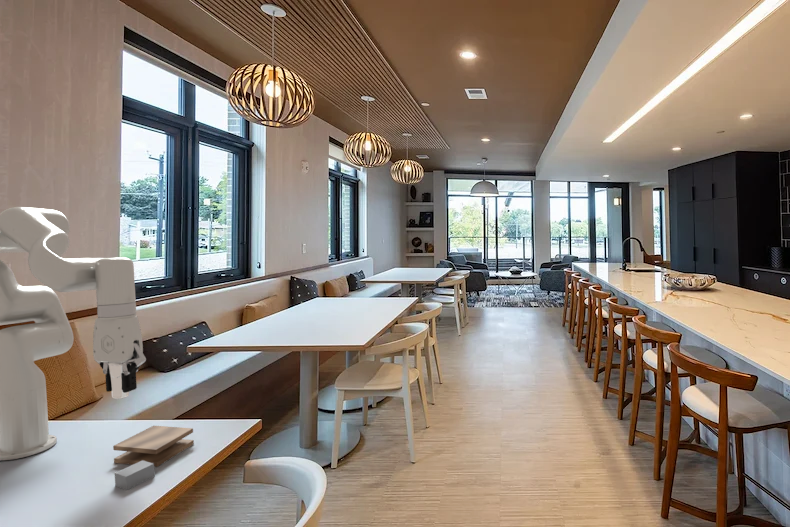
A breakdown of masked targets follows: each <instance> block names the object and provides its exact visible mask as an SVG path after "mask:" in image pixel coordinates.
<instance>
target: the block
mask: <svg viewBox="0 0 790 527" xmlns="http://www.w3.org/2000/svg"><path fill="white" fill-rule="evenodd" d="M154 477H155V467H154V464H153V463H150V462H147V461H143V460H142V461H140V462H138V463H135V464H133V465H131V464H130V465H129V466H127V467H125V468H123V469H121V470H118V471H115V472H114V486H115V487H117V488H120V489H123V490H125V491H129V490H130V489H132V488H134V487H136V486H139V485H140V484H142V483H144V482H146V481H149V480H151V479H152V478H154Z"/></svg>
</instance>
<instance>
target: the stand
mask: <svg viewBox="0 0 790 527" xmlns="http://www.w3.org/2000/svg"><path fill="white" fill-rule="evenodd" d="M193 433H194V428H193V427H192V428H191V427H180V426H179V427H177V426H165V425H163V426H162V425H151V426H150V427H148V428H145V429H144V430H142V431H140V432H138V433H136V434H134V435H132V436H130V437H128V438H126V439H124V440H122V441H120V442H118V443H116V444H114V445H112V446H113V447H112V448H113V451H117V452H118V451H119V452H120V451H121V452H123V453H122V454H119V455H118V456H116V457H114V458H113V463H114V464H123V465H130V466H131V465H133V464H135V463H138V462H140V461H142V460H143V461H147V462H150V463H153V464H154V468H158V467H160V466H161V465H162V464H165V463H166V462H167V461H169V460H171V459H173V458H174V457H176V456H177V455H179V454H180V453H182V452H183V451H185V450H186V449H188V448H190V447H191V446H193V445H194V444H195V442H194V440H193V439H186V437H188V436H189V435H191V434H193Z"/></svg>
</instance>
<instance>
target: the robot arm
mask: <svg viewBox="0 0 790 527" xmlns="http://www.w3.org/2000/svg"><path fill="white" fill-rule="evenodd" d="M70 229H71V225H70V221H69V219H68V218H67V217H66V215H65V214H64V213H62V212H61V211H58V210H55V209H50V208H38V207H27V206H15V207H10V208H7V209H5V210H3V211H1V212H0V254H2V253H3V254H4V253H28V255H27V262H28V263H27V264H28V267H29V270H30V272H31V275H32V276H33V277H34V278H36V279H37V280H38V281H39V282H40V283H42V284H43V285H41V284H40V285H39V284H38V285H24V286H23V285H21V284H20V283H19V282H18V281H17V278H16V276H15V274H14V271H13V270H12V269H11V267H10V266H9V265H7V263H5V262H4V261H2V259H0V326H2V325H6V326H7V325H12V324H20V323H21V325H14V326H10V327H5V328H2V329H0V461H11V460H18V459H21V458H25V457H30V456H33V455H36V454H39V453H42V452H45V451H46V450H48V449H50V448H52V447H53V446H55V445H56V443H57V442H58V441H57V440H58V439H57V436H56V435H53V434H49V433H50V432H49V416H48V413H49V412H48V400H47V399H48V397H47V396H48V395H47V383H46V380H47V379H46V376H45V373H44V372H43V371H42V369H40V367H39V366H38V365H37V364H35V362H36V361H39V360H42V359H46V358H51V357H55V356H59V355H63V354H65V353H67V352H69V351H70V349H71V348H72V347H73V344H74V340H75V339H74V338H75V337H74V332H73V329H72V326H71V323H70V321H69V319H68V317H67V314H66V311H65V309H64V307H63V305H62V302H61V300H60V298H59V296H58V294H57V293H56V292H59V293H72V292H81V291H95V295H96V310H97V311H96V312H97V318H95V321H94V325H93V338H92V339H93V340H92V353H93V355H92V356H93V360H94V361H95V362H96V363H97V364H99V366H100V368H101V369H102V373H103V375H105V388H106V389H105V390H106V392H107V393H108V392H112V391H111V381H110V373H109V365H108V363H109V362H110V363H122V366H123V371H124V374H125V375H122V388H123V392H124V393H126V392H129V393H130V392H132V391H134V390H137V388H138V387H137V386H138V385H137V372H138V371H139V368H141V365H143V364H144V363H145V362H147V358H146V356H145V354H144V353H143V352H144V348H143V347H144V345H143V335H142V329H141V326H140V325H141V324H140V320H139V318H138V315H137V303H136V287H135V286H136V284H135V283H136V282H135V268H134V261H133V260H132V259H131V258H129V257H80V258H79V257H75V258H63V257H62V256H63V255H64V254H66V252H67V251H68V250H69V247H70V242H71V241H70V237H69V233H70V232H71V231H70ZM55 291H56V292H55ZM27 322H34V323H27ZM22 323H27V324H22ZM129 359H130V360H129ZM130 362H131V365H130V366H129V365H128V363H130Z"/></svg>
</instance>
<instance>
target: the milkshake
mask: <svg viewBox="0 0 790 527" xmlns="http://www.w3.org/2000/svg"><path fill="white" fill-rule="evenodd" d="M129 360H130V359H129ZM108 365H109V373H110V381H111V391H110V392H111V398H112V399H114V400H121V399H125V398H127V397H129V396H130V391H129V392H126V393H124V392H123V388H122V375H125V374H124V371H123V366H122V363H110V362H109V363H108ZM128 365H129V366H130V365H131V362H130V363H128Z"/></svg>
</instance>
